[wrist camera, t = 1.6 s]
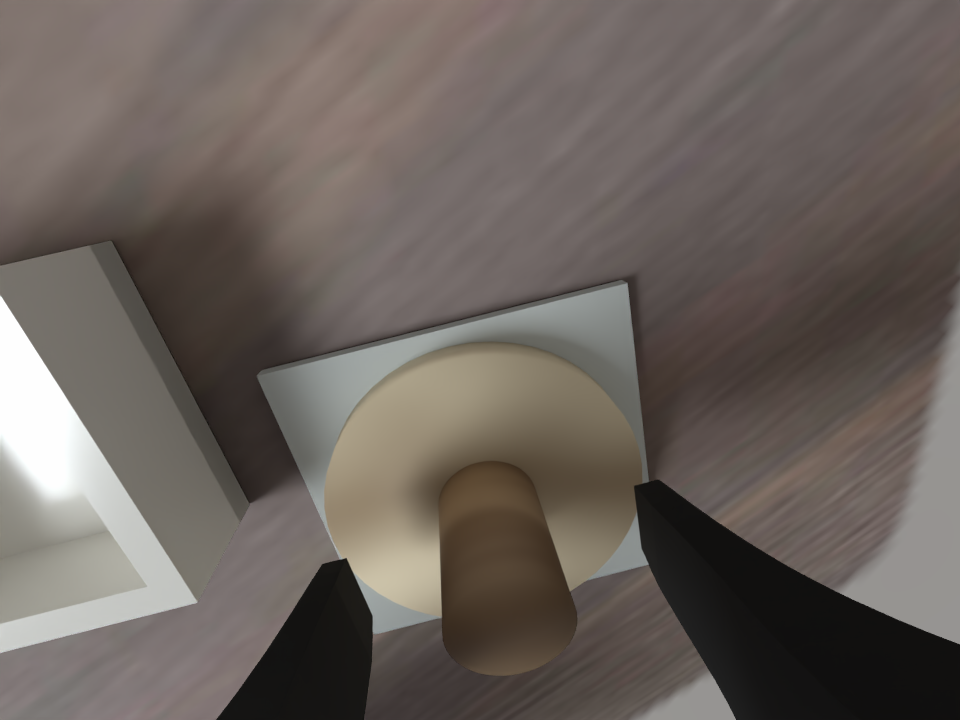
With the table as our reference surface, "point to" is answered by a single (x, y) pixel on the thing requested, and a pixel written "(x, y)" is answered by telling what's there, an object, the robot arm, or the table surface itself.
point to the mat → (542, 324)
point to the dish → (99, 456)
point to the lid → (484, 496)
